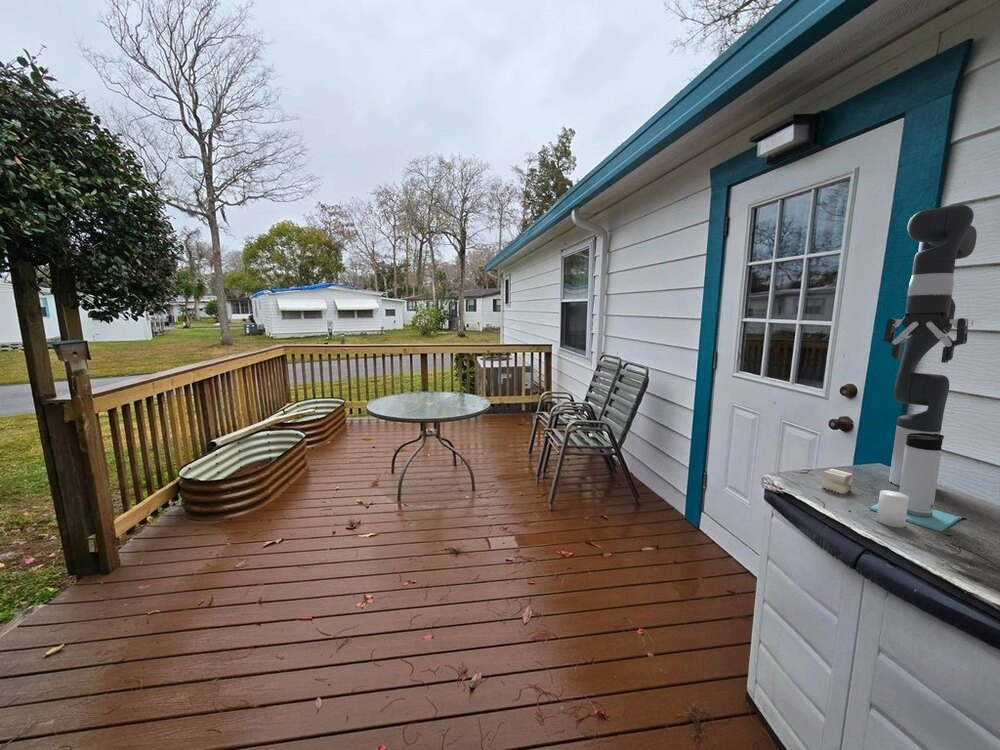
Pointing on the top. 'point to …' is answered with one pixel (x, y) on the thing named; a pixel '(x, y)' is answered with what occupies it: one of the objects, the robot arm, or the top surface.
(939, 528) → the teal mat
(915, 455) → the travel mug
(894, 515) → the white plastic capsule
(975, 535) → the top surface
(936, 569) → the top surface
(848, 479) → the birch block
